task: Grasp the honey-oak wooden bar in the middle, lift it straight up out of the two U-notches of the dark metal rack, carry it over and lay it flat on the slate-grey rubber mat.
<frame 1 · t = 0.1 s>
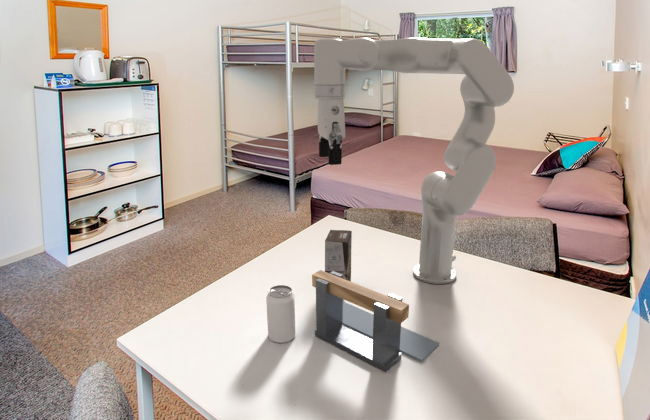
hand: (329, 160, 117), 37 cm above the table, tool pointing down, fingers open, 9 cm apart
can: (282, 336, 107), on the table
mat: (378, 330, 109), on the table
rail: (357, 300, 99), point 12 cm above the table, touching rail rack
rail rack: (356, 347, 103), on the table
coffee box: (338, 288, 129), on the table
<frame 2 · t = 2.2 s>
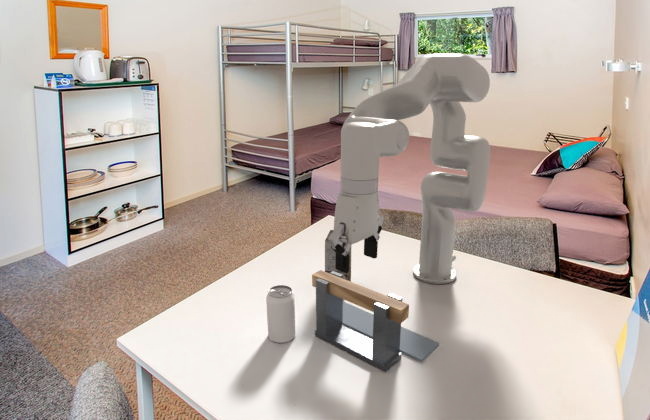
hand: (356, 263, 95), 21 cm above the table, tool pointing down, fingers open, 9 cm apart
nothing on the table moved.
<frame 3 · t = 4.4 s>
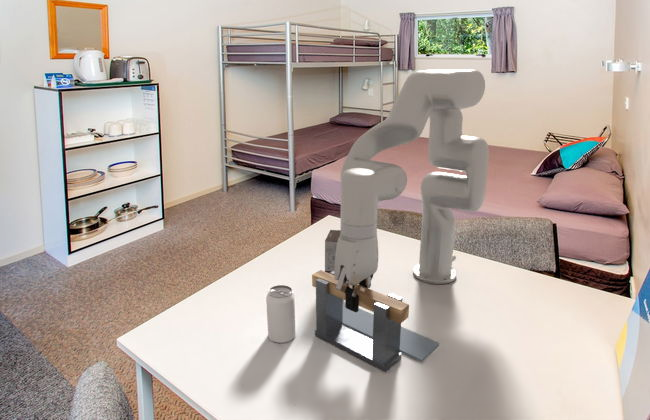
hand: (357, 305, 99), 11 cm above the table, tool pointing down, fingers closed on rail, 3 cm apart
rail: (357, 300, 99), point 12 cm above the table, touching gripper, rail rack
everything else where it was.
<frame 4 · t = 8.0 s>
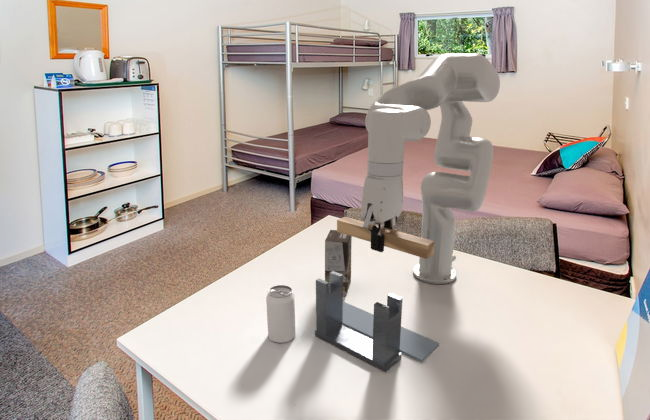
hand: (381, 247, 102), 22 cm above the table, tool pointing down, fingers closed on rail, 3 cm apart
rail: (382, 242, 102), point 23 cm above the table, touching gripper
everything else where it was.
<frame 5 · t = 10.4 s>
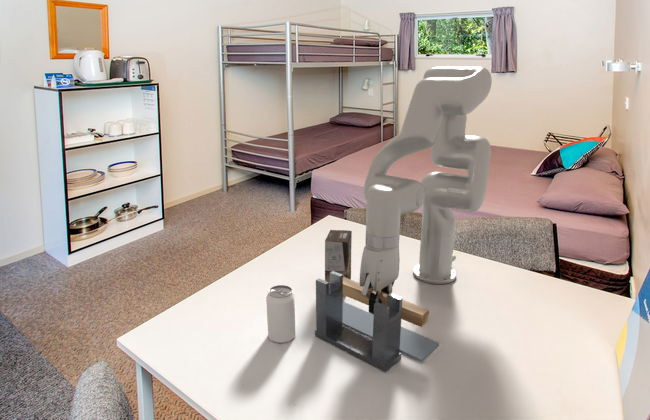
hand: (379, 310, 107), 6 cm above the table, tool pointing down, fingers closed on rail, 3 cm apart
rail: (379, 306, 107), point 7 cm above the table, touching gripper
everything else where it was.
when the fingers open (2 cm above the table, at t = 12.1 s): rail drops 2 cm, resting on mat.
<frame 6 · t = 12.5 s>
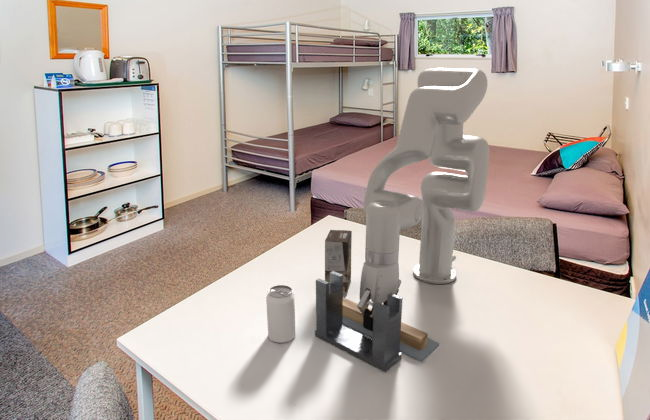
hand: (379, 321, 108), 2 cm above the table, tool pointing down, fingers open, 7 cm apart
rail: (379, 327, 109), point 1 cm above the table, touching mat
everything else where it was.
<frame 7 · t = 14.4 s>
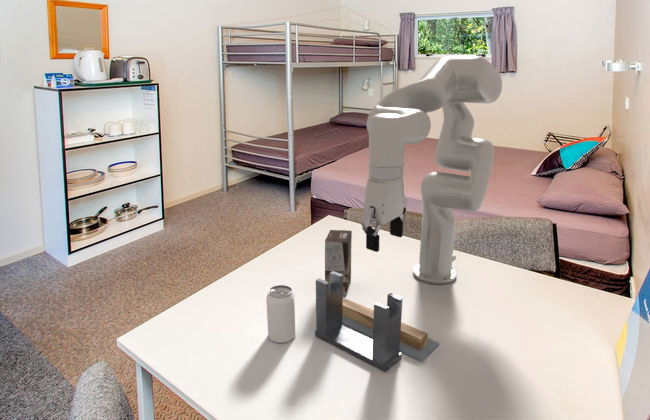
hand: (384, 242, 105), 22 cm above the table, tool pointing down, fingers open, 9 cm apart
nothing on the table moved.
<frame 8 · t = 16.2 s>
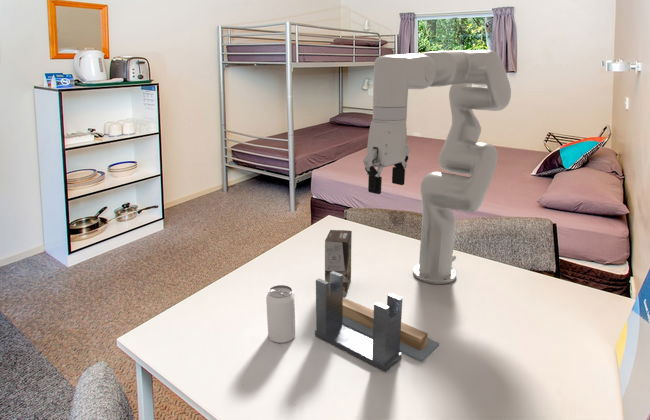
hand: (386, 188, 106), 33 cm above the table, tool pointing down, fingers open, 9 cm apart
nothing on the table moved.
at the end: rail inside the target area on the mat (0.1 cm from its centre), point 0.6 cm above the mat's base; rail touching mat; the gripper is holding nothing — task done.
